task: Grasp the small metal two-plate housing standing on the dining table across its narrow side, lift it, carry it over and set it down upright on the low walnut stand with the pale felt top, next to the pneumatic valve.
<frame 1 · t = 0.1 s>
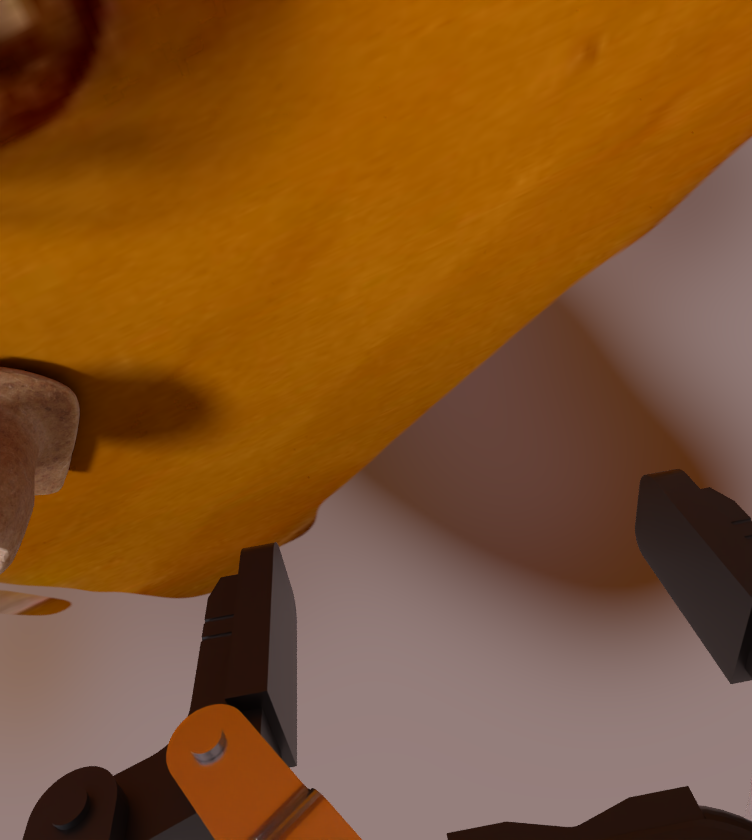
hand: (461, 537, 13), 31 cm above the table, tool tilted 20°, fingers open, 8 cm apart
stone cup: (4, 412, 53), on the table
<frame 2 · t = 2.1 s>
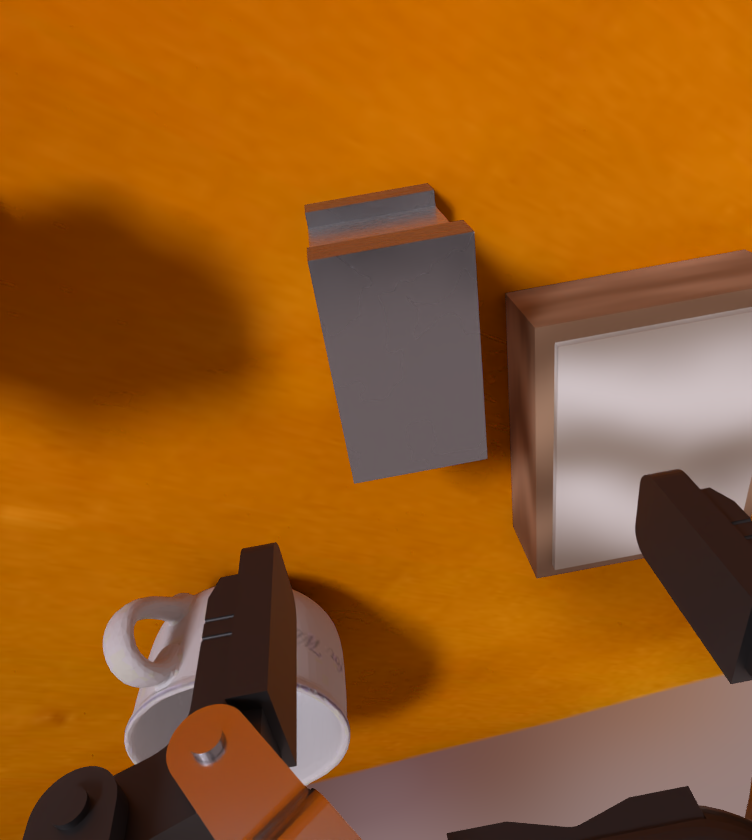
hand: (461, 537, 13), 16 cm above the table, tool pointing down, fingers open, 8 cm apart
stand: (615, 404, 31), on the table
housing: (380, 292, 27), on the table
teacup: (236, 600, 36), on the table
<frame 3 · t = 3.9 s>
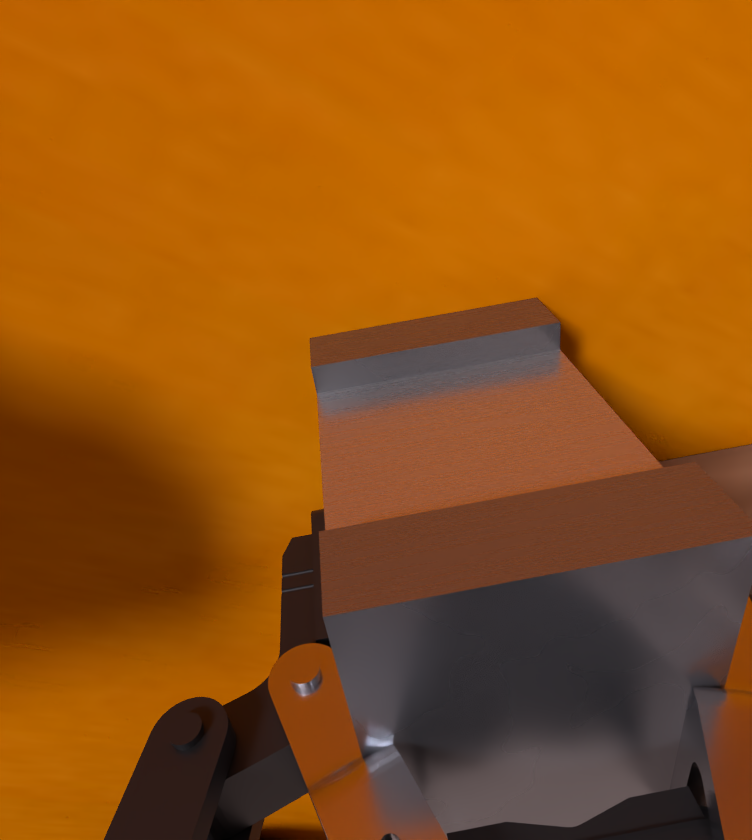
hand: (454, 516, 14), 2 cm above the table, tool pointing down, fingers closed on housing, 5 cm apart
housing: (440, 471, 15), on the table, touching gripper
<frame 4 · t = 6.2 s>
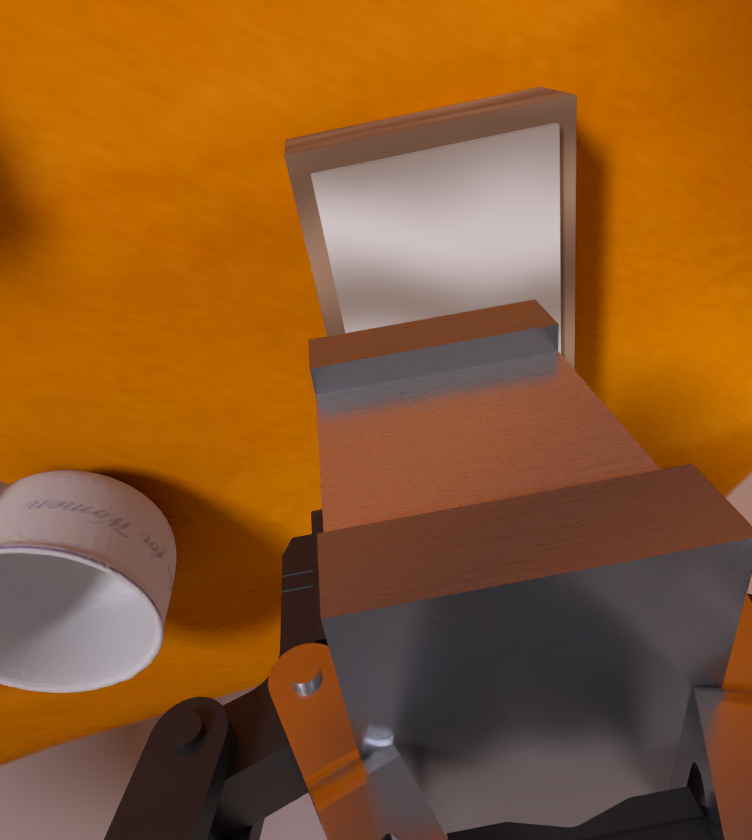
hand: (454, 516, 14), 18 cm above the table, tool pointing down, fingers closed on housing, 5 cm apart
stand: (432, 271, 30), on the table
housing: (439, 472, 15), point 16 cm above the table, touching gripper
teacup: (72, 499, 35), on the table
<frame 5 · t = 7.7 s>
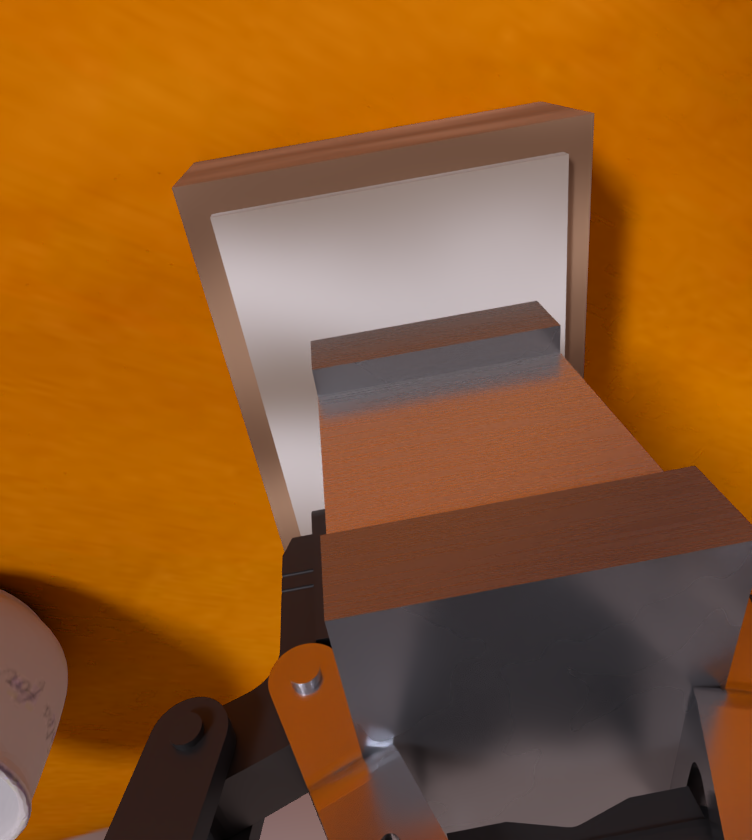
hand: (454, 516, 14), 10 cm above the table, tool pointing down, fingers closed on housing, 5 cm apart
stand: (397, 336, 23), on the table
housing: (440, 473, 15), point 9 cm above the table, touching gripper
when the fingers open (7 cm above the table, at t = 8.7 s): housing drops 1 cm, resting on stand.
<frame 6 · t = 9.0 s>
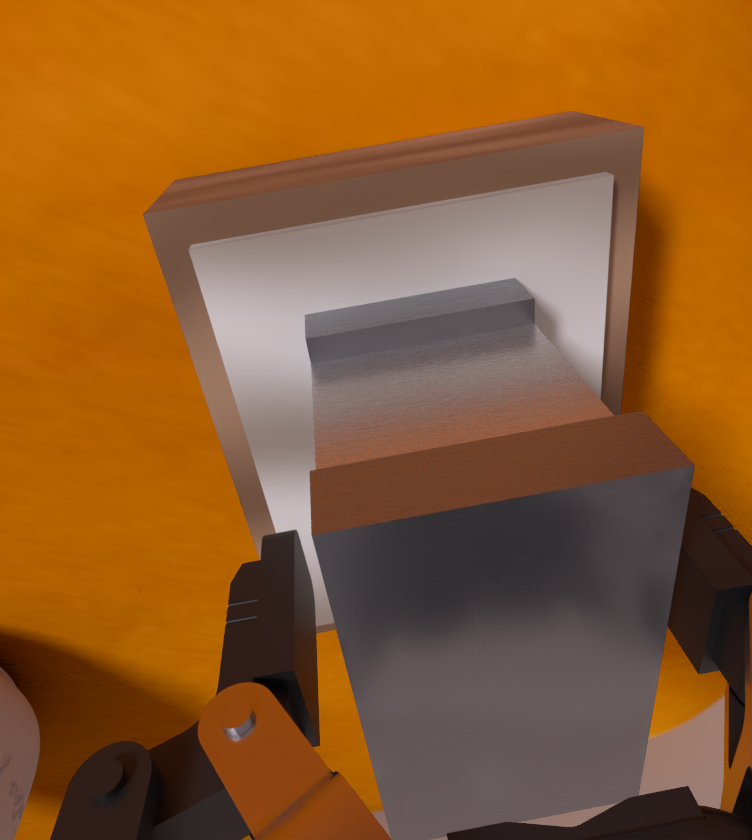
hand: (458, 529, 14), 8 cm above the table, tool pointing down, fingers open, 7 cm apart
stand: (405, 372, 20), on the table
housing: (427, 443, 16), point 4 cm above the table, touching stand
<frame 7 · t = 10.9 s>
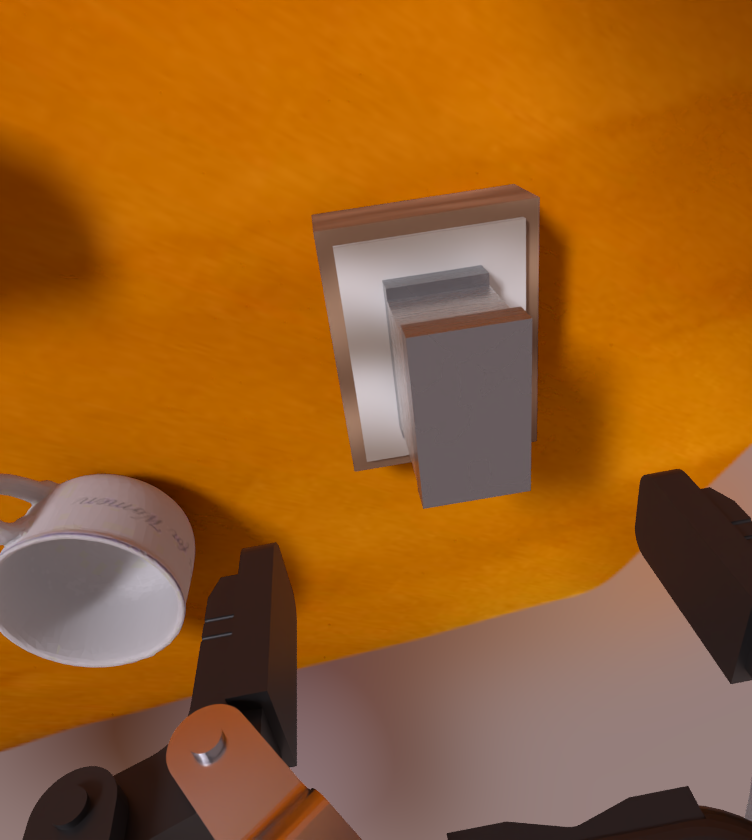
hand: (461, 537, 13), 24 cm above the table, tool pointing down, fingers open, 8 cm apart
stand: (424, 322, 36), on the table
housing: (437, 350, 32), point 4 cm above the table, touching stand
teacup: (106, 501, 40), on the table
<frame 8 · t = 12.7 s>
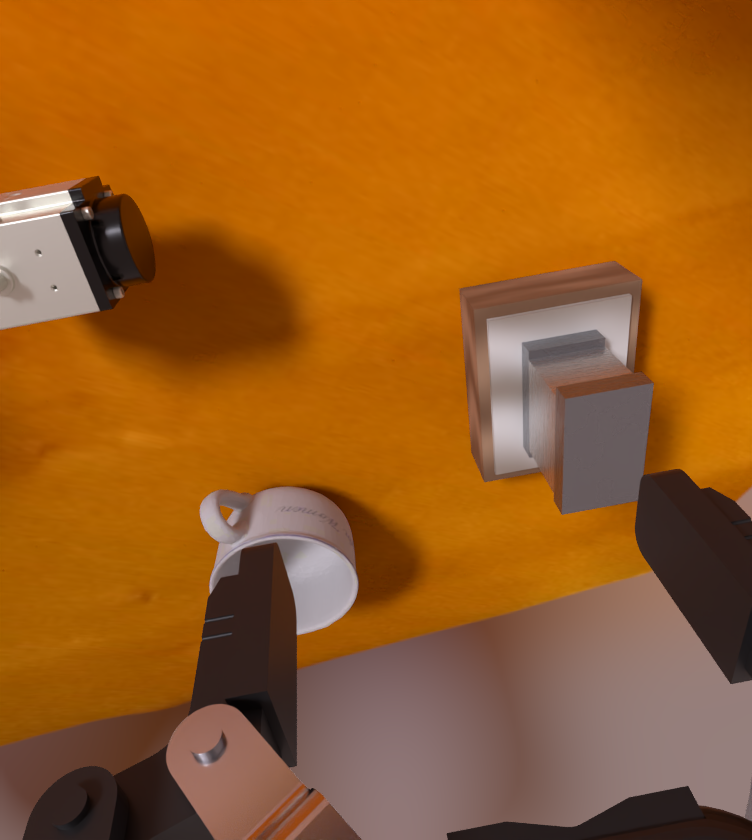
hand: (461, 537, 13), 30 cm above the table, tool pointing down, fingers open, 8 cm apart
stand: (537, 364, 46), on the table
housing: (557, 391, 42), point 4 cm above the table, touching stand
teacup: (277, 506, 51), on the table
pneumatic valve: (70, 214, 37), on the table
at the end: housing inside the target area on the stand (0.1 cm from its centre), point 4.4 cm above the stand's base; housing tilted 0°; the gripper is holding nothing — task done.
